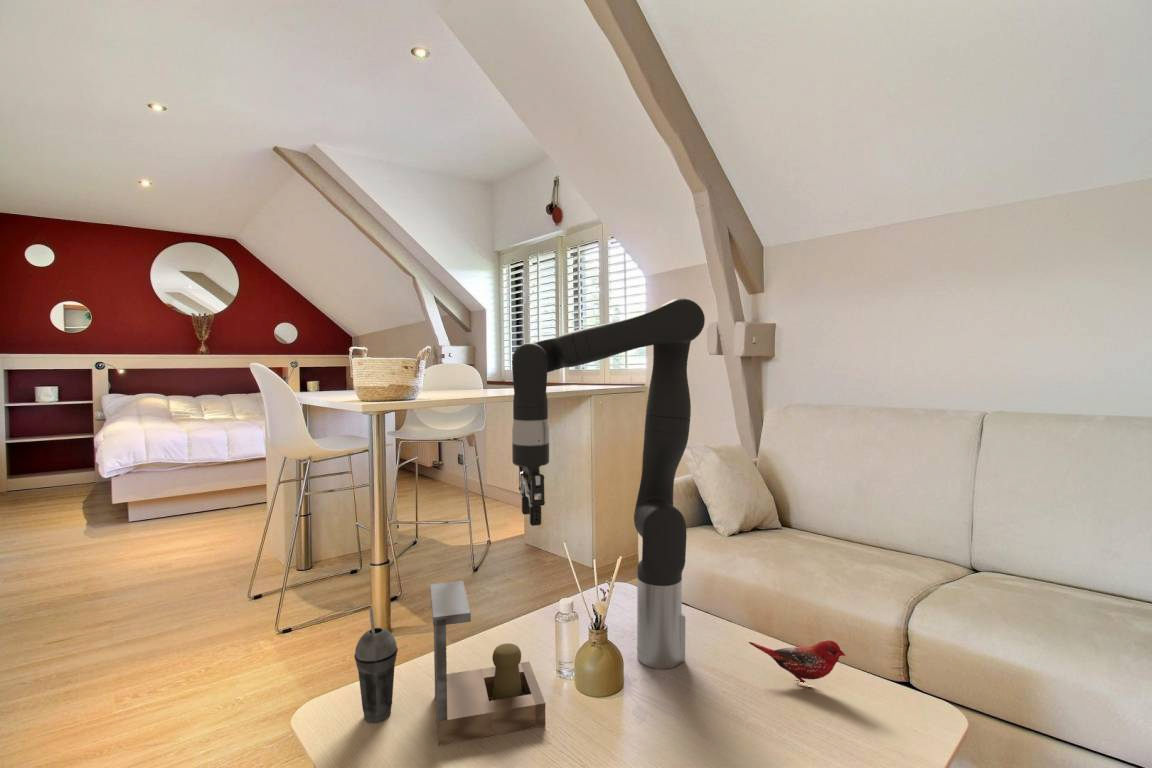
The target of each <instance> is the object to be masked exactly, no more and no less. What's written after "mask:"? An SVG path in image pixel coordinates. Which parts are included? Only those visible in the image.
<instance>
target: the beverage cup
mask: <svg viewBox="0 0 1152 768" xmlns="http://www.w3.org/2000/svg"><path fill="white" fill-rule="evenodd" d="M368 609H369V619H370V629H369V630H367V631H365V633H363V634H362V635H361V636H360V638H359V640H358V641H357V644H356V646H355V651H354V656H353V657H354V660H355V665H356V668H357V672H358V681H359V690H360V697H361V706H362V712H363V718H364V719H363V720H364V721H365V723H367V724H380V723H383V722H385V721H387V720H388V719H389V718H390V717H391V714H392V706H393V697H394V696H393V695H394V693H393V692H394V683H395V682H394V679H395V678H394V677H395V667H396V666H395V665H396V661H397V655H398V650H399V648H398V645H397V641H396V639H395V636H394V635H393V633H392V632H391V631H390V630H388V629H386V628H382V627H375V621H374V620H375V619H374V612H373V611H374V610H373V607H369V608H368Z"/></svg>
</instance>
